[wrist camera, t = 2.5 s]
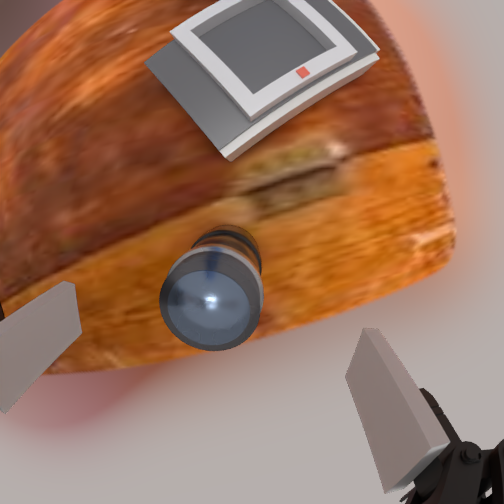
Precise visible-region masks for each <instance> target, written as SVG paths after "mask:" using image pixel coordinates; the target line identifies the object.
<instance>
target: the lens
mask: <svg viewBox="0 0 504 504" xmlns="http://www.w3.org/2000/svg"><path fill="white" fill-rule="evenodd" d="M263 299H264V294H263V283H262V279H261V257H260V253H259V250H258V246H257V243H256V241H255V240H254V238H253V237H252V236H251V235H250V234H249V233H248V232H247V231H246V230H244V229H242V228H240V227H237V226H233V225H222V226H218V227H215V228H213V229H212V230H210V231H209V232H207V233H205V234H204V235H203V236H201V237H200V238H199V239H198V240H197V241H196V242H195V243H194V245H193V246H192V247H191V249H190V250H188V251H187V252H186V253H184V254H183V255H182V256H181V257H180V258H179V259H178V260H177V261H176V262H175V263H174V265H173V266H172V267H171V269H170V271H169V273H168V276H167V278H166V280H165V281H164V283H163V285H162V288H161V292H160V298H159V303H160V310H161V314H162V317H163V319H164V321H165V323H166V325H167V326H168V328H169V329H170V330H171V332H172V333H173V334H174V335H175V336H176V337H177V338H179V339H180V340H181V341H183V342H184V343H186V344H188V345H190V346H192V347H195V348H198V349H202V350H207V351H222V350H227V349H231V348H233V347H236V346H238V345H240V344H241V343H243V342H244V341H246V340H247V339H248V338H249V337H250V336H251V334H252V333H253V332H254V330H255V328H256V327H257V324H258V321H259V317H260V312H261V309H262V306H263Z"/></svg>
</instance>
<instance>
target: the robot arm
mask: <svg viewBox="0 0 504 504" xmlns="http://www.w3.org/2000/svg"><path fill="white" fill-rule="evenodd" d="M81 334H82V330H81V324H80V318H79V312H78V306H77V299H76V291H75V284H74V283H70V282H66V281H62V282H61V283H59V284H57V285H56V286H54V287H53V288H51V289H49V290H48V291H46V292H45V293H43V294H41V295H40V296H38V297H37V298H35V299H34V300H32V301H30V302H29V303H27V304H26V305H24V306H23V307H21V308H20V309H18V310H17V311H15V312H14V313H12V314H11V315H9V316H8V317H7V318H5V319H4V316H3V312H2V309H1V306H0V410H1V411H2V412H3V413H5V414H6V413H7V412H8V411H9V410H10V408H11V407H12V406H13V405H14V404H15V403H16V402H17V400H18V399H19V398H20V397H21V396H22V395H23V394H24V393H25V392H26V390H27V389H28V388H29V387H30V386H31V385H32V384H33V383H34V382H35V381H36V380H37V378H38V377H39V376H40V375H41V374H42V373H43V372H44V371H45V370H46V369H47V368H48V367H49V366H50V365H51V364H52V363H53V362H54V361H55V360H56V359H57V358H58V357H59V356H60V355H61V354H62V353H63V352H64V351H65V350H66V349H67V348H68V347H69V346H70V345H71V344H72V343H73V342H74V341H75V340H76V339H77V338H78V337H79V336H80V335H81ZM345 378H346V381H347V383H348V386H349V389H350V391H351V394H352V397H353V400H354V402H355V405H356V408H357V411H358V414H359V416H360V419H361V422H362V425H363V428H364V431H365V434H366V436H367V439H368V443H369V446H370V449H371V452H372V455H373V458H374V461H375V464H376V467H377V470H378V473H379V477H380V480H381V483H382V486H383V490H384V493H385V494H386V493H390V492H394V491H398V490H401V489H404V488H405V487H406V486H407V485H408V484H410V483H411V482H412V481H414V484H415V487H414V488H413V489H412V490H411V491H409V492H408V493H407V494H406V495H404V497H402V498H401V500H400V502H402V501H404V500H405V499H406V498H408V499H407V501H406V503H405V504H504V439H503V440H502V441H501V442H500V443H499V444H498V445H497V446H496V447H495V448H494V449H490V450H481V449H480V448H479V447H478V446H477V445H476V444H474V443H472V442H467V441H465V442H462V441H461V440H460V438H459V437H458V435H457V433H456V432H455V430H454V428H453V427H452V425H451V423H450V422H449V420H448V419H447V417H446V415H444V414H443V413H444V412H443V411H442V409H441V408H440V407H439V405H438V403H437V401H436V400H435V398H434V397H433V396H432V395H431V394H430V393H429V392H428V391H426V390H425V389H424V388H421V389H418V387H417V386H416V384H415V382H414V381H413V379H412V378H411V376H410V375H409V373H408V372H407V370H406V368H405V367H404V365H403V364H402V362H401V361H400V359H399V358H398V357H397V355H396V354H395V352H394V351H393V349H392V348H391V346H390V345H389V343H388V342H387V341H386V339H385V338H384V336H383V335H382V333H381V332H380V331H379V329H372V328H363V330H362V334H361V336H360V339H359V342H358V344H357V347H356V350H355V353H354V355H353V358H352V360H351V363H350V366H349V368H348V371H347V373H346V376H345ZM491 487H492V494H491V495H490V496H488V497H487V498H486V496H485V492H486V491H488V490H489V489H490V488H491Z"/></svg>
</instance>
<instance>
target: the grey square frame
mask: <svg viewBox="0 0 504 504" xmlns="http://www.w3.org/2000/svg"><path fill="white" fill-rule="evenodd" d="M170 33H171V35H172V36H173V38H174V40H173V41H171V42H170V43H168V44H167V45H166V46H164V47H163V48H162V49H160V50H159V51H158V52H157V53H155V54H154V55H153V56H151V57H150V58H149V59H148V60H147V61H145V62H144V63H145V65H146V66H147V67H148V68H149V69H150V70H151V71H152V72H153V74H154V75H155V76H156V77H157V78H158V79H159V80H160V81H161V83H162V84H163V85H164V86H165V87H166V88H167V90H168V91H169V92H170V93H171V94H172V95H173V96H174V98H175V99H176V100H177V101H178V102H179V103H180V105H181V106H182V107H183V108H184V109H185V110H186V112H187V113H188V114H189V115H190V116H191V118H192V119H193V120H194V121H195V122H196V124H197V125H198V126H199V127H200V128H201V130H202V131H203V132H204V133H205V134H206V136H207V137H208V138H209V139H210V141H211V142H212V143H213V144H214V145H215V147H216V148H217V149H218V150H219V151H220V152H221V154H222V155H223V156H224V157H225V158H226V159H227V160H229V161H230V162H232V161H233V160H234V159H236V158H237V157H238V156H239V155H241V154H242V153H243V152H245V151H246V150H247V149H249V148H250V147H252V146H253V145H254V144H256V143H257V142H258V141H260V140H261V139H263V138H264V137H265V136H267V135H268V134H270V133H271V132H272V131H274V130H275V129H277V128H278V127H280V126H281V125H282V124H284V123H285V122H287V121H288V120H290V119H291V118H293V117H294V116H296V115H297V114H299V113H300V112H302V111H303V110H305V109H306V108H308V107H309V106H311V105H313V104H314V103H316V102H317V101H319V100H320V99H322V98H324V97H325V96H327V95H329V94H330V93H332V92H333V91H335V90H337V89H338V88H340V87H342V86H344V85H345V84H347V83H349V82H350V81H352V80H354V79H356V78H357V77H359V76H361V75H362V74H363V73H365V72H366V71H367V70H368V69H369V68H370V67H371V66H372V65H373V64H374V63H375V62H377V61H378V60H379V59H380V58H379V57H378V56H377V55H376V53H377V52H378V51H379V50H380V49H379V48H378V46H377V45H376V44H375V43H374V42H373V41H372V40H371V39H370V37H369V36H368V35H367V34H366V33H365V32H364V31H363V30H362V29H361V28H360V27H359V26H358V25H357V24H356V23H355V22H354V21H353V20H352V19H351V18H350V17H349V16H348V15H347V14H346V13H345V12H344V11H343V10H342V9H341V8H339V7H338V6H337V5H336V4H335V3H334V2H333V1H332V0H220V1H218V2H216V3H215V4H213V5H211V6H209V7H207V8H206V9H204V10H202V11H201V12H199V13H197V14H196V15H194V16H192V17H191V18H189V19H188V20H186V21H185V22H183V23H181V24H180V25H178V26H177V27H176V28H174V29H173V30H171V31H170Z"/></svg>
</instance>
